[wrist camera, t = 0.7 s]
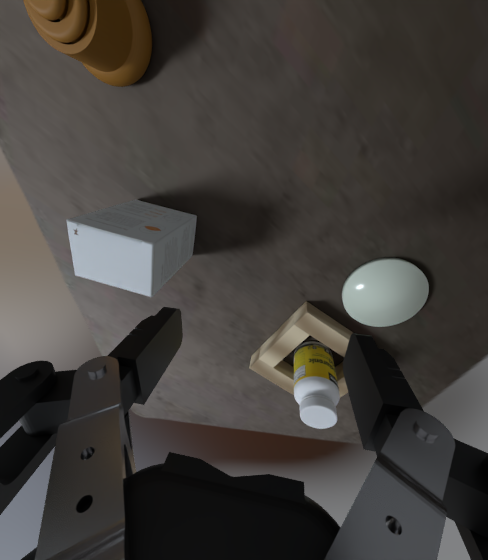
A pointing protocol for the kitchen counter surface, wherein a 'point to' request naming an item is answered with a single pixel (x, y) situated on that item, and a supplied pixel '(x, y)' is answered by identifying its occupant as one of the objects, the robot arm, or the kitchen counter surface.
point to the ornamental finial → (97, 35)
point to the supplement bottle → (316, 384)
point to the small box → (132, 245)
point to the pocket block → (293, 334)
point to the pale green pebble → (385, 292)
